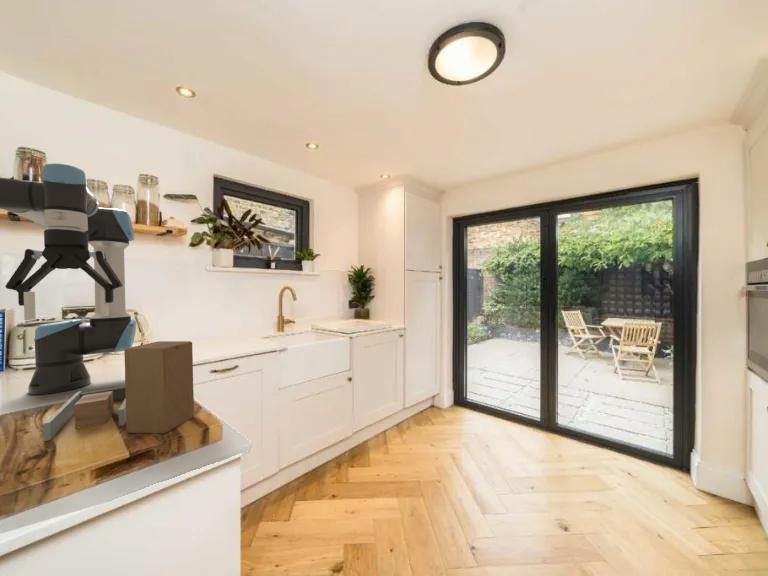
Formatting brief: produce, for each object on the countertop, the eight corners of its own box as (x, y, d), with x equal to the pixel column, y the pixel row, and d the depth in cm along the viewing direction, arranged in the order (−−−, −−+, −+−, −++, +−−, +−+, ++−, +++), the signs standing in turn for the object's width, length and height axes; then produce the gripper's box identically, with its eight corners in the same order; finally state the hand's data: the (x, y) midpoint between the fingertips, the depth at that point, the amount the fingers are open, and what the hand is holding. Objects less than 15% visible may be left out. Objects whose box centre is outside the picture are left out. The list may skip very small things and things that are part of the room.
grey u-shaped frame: (77, 405, 92) (77, 391, 92) (137, 395, 100) (137, 382, 100) (43, 441, 70) (43, 423, 70) (124, 425, 78) (123, 409, 78)
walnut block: (83, 417, 83) (83, 395, 83) (113, 412, 86) (112, 390, 86) (75, 428, 76) (74, 404, 76) (107, 422, 80) (106, 399, 80)
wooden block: (195, 416, 82) (193, 341, 82) (164, 434, 72) (162, 348, 72) (160, 415, 83) (158, 341, 83) (125, 433, 73) (123, 348, 73)
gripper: (-20, 224, 67) (-17, 322, 67) (126, 231, 78) (128, 315, 78) (3, 230, 74) (5, 319, 74) (135, 235, 85) (137, 313, 85)
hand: (69, 318), depth 76 cm, fingers open, 13 cm apart
